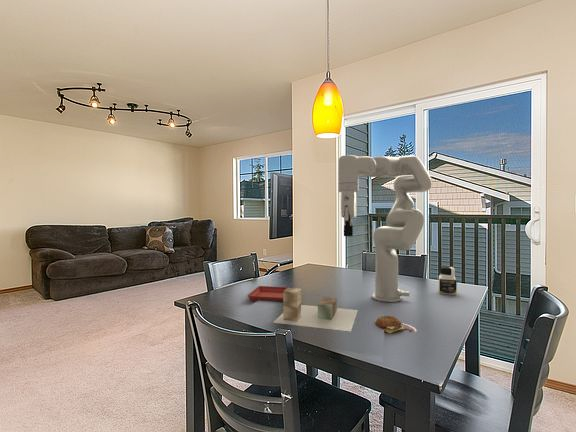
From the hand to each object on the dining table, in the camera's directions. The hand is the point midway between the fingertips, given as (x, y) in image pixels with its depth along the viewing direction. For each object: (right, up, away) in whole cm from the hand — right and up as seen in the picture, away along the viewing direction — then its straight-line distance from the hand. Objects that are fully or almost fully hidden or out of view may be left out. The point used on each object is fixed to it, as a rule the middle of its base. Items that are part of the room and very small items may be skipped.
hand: (348, 235), depth 126 cm
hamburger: (+12, -30, -18) cm, 37 cm away
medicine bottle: (+51, -28, +28) cm, 65 cm away
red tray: (-30, -29, +19) cm, 46 cm away
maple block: (-22, -28, -11) cm, 37 cm away
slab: (-13, -29, -9) cm, 33 cm away
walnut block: (-10, -26, -12) cm, 30 cm away
